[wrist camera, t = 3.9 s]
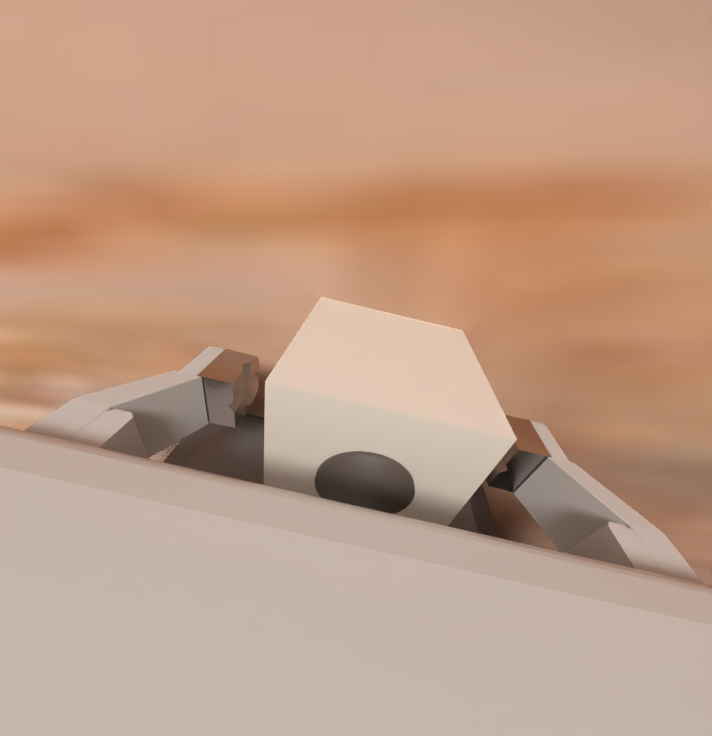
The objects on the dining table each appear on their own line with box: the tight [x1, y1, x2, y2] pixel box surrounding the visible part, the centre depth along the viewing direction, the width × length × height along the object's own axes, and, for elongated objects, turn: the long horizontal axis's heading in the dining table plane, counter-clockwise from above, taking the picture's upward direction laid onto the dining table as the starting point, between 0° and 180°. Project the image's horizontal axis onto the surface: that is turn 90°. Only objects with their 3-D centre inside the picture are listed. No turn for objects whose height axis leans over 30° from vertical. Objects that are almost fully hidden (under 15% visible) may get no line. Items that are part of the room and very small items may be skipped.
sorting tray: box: [164, 414, 498, 538], centre depth 15 cm, size 13×14×4 cm
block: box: [264, 297, 517, 526], centre depth 9 cm, size 5×5×5 cm
